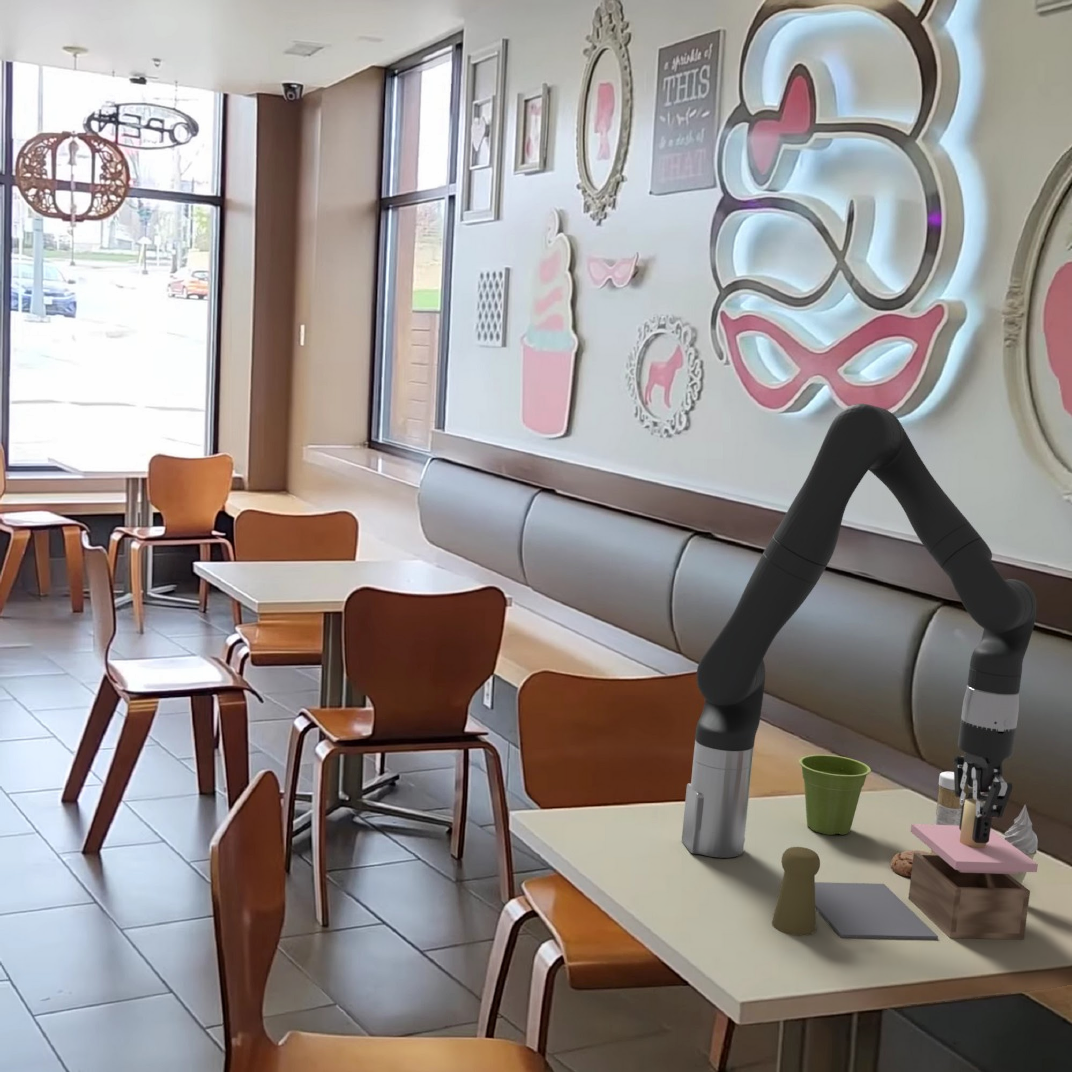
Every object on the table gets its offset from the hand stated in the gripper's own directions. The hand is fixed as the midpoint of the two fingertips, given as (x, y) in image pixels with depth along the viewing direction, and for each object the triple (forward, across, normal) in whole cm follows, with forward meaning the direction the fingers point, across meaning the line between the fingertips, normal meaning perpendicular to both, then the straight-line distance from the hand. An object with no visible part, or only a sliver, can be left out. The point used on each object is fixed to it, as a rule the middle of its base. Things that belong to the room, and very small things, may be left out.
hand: (973, 836), depth 198 cm
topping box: (+12, 0, 0) cm, 12 cm away
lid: (+3, 0, 0) cm, 3 cm away
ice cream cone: (+12, -7, +11) cm, 18 cm away
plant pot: (+13, -37, -7) cm, 40 cm away
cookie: (+13, -18, +2) cm, 22 cm away
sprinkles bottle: (+12, -26, +9) cm, 30 cm away
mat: (+12, -2, -14) cm, 19 cm away
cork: (+12, +4, -27) cm, 30 cm away
